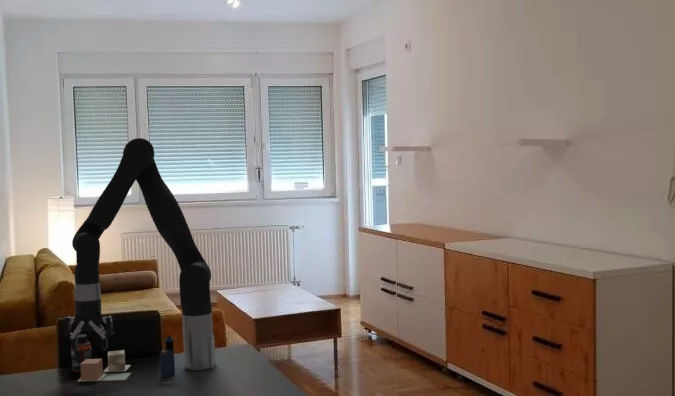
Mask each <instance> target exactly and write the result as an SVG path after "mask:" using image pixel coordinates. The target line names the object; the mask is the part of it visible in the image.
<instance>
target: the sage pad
mask: <svg viewBox="0 0 675 396" xmlns="http://www.w3.org/2000/svg"><path fill="white" fill-rule="evenodd" d="M131 374H132V372H121V373H120V372H119V373H117V372H113V373H107V374H106V375H105V377H104V378H103V379H102V380H101V381H103V382H104V381H126V380H127V379H128V378H129V376H130V375H131Z"/></svg>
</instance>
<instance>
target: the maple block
mask: <svg viewBox="0 0 675 396" xmlns="http://www.w3.org/2000/svg"><path fill="white" fill-rule="evenodd" d="M125 353H126V352H125V349H122V350H111V351H110V350H109V351H107V365H108V366H107V367H108V370H109V371H118V370H125V365H126V354H125Z"/></svg>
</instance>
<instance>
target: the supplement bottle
mask: <svg viewBox="0 0 675 396" xmlns="http://www.w3.org/2000/svg"><path fill="white" fill-rule="evenodd" d="M77 338H78V350H77V351H73V349H72V348H71V347H70V351H71V352H70V353H71V354H70V355H71V366H72V372H73V373H81V365H80V364H81V363H82V362H83V361H84V360H85V359H93V357H92V346H91V345H92V344H91V342H90V341H88V335H87V334H84V333H82V334H78V335H77Z"/></svg>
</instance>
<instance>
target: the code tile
mask: <svg viewBox="0 0 675 396" xmlns="http://www.w3.org/2000/svg"><path fill="white" fill-rule="evenodd" d="M106 376H107V373H103V375H102V376H101V377H100V378H99V379H98V380H81V377H80V378H78V380H77V382H98V381H99V382H101V381H102V380H103V379H104V378H105V377H106Z"/></svg>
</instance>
